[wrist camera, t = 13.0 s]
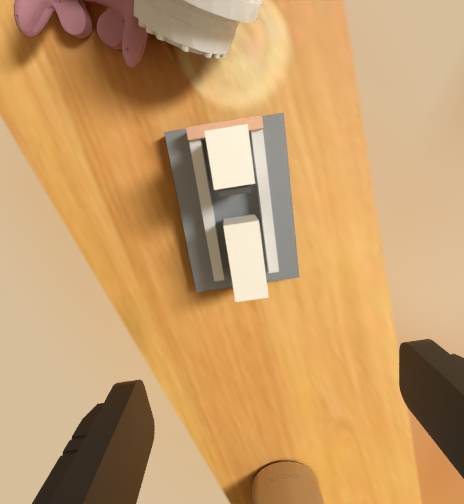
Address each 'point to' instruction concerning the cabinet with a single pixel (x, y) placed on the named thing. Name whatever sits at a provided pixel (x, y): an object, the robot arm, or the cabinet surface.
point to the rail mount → (234, 193)
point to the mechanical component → (196, 22)
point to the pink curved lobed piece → (87, 23)
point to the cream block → (245, 257)
